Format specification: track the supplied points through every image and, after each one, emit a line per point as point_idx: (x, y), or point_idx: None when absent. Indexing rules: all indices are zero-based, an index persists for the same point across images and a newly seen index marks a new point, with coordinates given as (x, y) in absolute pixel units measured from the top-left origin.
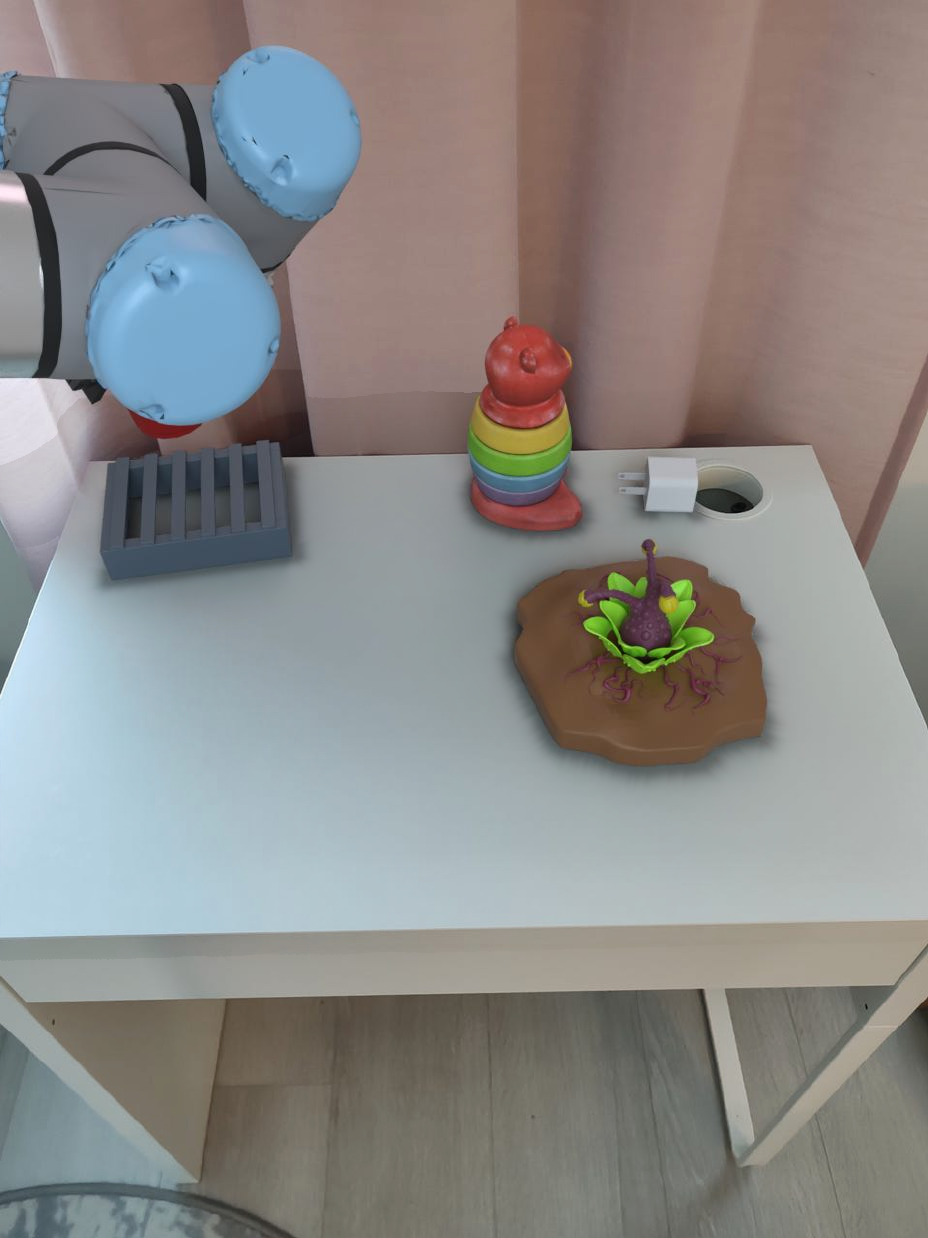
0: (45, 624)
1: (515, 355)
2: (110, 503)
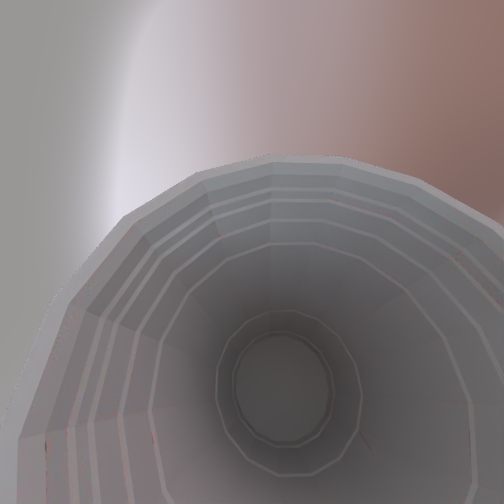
0: None
1: None
2: None
